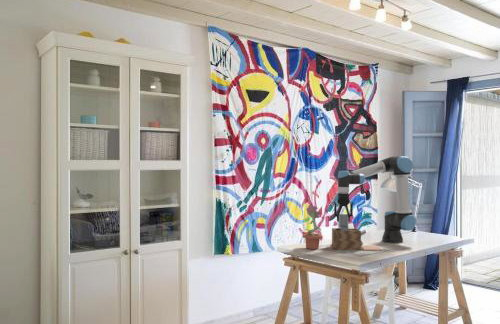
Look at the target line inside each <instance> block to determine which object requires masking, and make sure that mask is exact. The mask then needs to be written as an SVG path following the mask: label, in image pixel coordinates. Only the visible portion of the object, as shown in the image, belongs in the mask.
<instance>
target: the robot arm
mask: <svg viewBox="0 0 500 324" xmlns="http://www.w3.org/2000/svg"><path fill="white" fill-rule="evenodd" d="M413 169H414V164H413V161H412V160H411V158H410V157H408V156H403V155H400V156H398V155H397V156H390V157H387V158H384V159H381V160H379V161H377V162H376V163H373V164H370V165H367V166H364V167H361V168H358V169H355V170H351V171H349V170H339V171H338V174H337V186H338V187H337V192H338V193H337V201H333V209H334V210H333V211H334V212H333V213H334V214H333V215H334V216H335V217H336V222H337V224H338V226H339V227H340V217H339V214H341V210H342V207H344V208H345V210H346V214H347V215H348V223H349V222H351V217H353V208H354V207H353V205H354V202H353V201H350V185H363V184H364V183H365V181H366V178H368V177H370V176H375V175H377V174H380V173H381V174H385V173H392V174H393V176H394V177H395V185H396V186H395V187H396V201H397V202H396V203H397V205H396V206H397V210H393V211H391V210H390V211H385V212H384V217H383V218H384V231H383V235H382V238H381V241H382V242H384V243H390V244H392V243H393V244H394V243H395V244H400V243H404V238H403V236H402V232H401V231H408V232H409V231H412V230H413V229H415V228H416V225H417V218H416V217H415V215H413V211H412V210H411V203H410V202H411V201H410V189H409V188H410V187H409V176H410V175H411V171H412V170H413ZM338 204H339V205H338ZM348 205H349V207H350V209H349V207H348ZM337 207H338V210H337ZM349 210H350V211H349Z"/></svg>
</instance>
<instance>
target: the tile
mask: <svg viewBox="0 0 500 324" xmlns="http://www.w3.org/2000/svg"><path fill="white" fill-rule="evenodd" d="M361 248H362V251H367V252H369V251H370V252H382V251H383V249H382V248H381V247H380V246H378V245H361Z"/></svg>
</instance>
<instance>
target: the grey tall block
mask: <svg viewBox="0 0 500 324" xmlns="http://www.w3.org/2000/svg"><path fill="white" fill-rule="evenodd" d="M339 217H340V227H339V226H338V227H337V228H339V230H341V231H348V228H349V222H348V215H347V213H340V214H339Z"/></svg>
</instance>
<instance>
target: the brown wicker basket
mask: <svg viewBox="0 0 500 324" xmlns="http://www.w3.org/2000/svg"><path fill="white" fill-rule="evenodd" d="M361 231H362V230H359V228H349V227H348V231H341V230H339V228H338V227H333V228H332V227H331V244H330V248H331V250H332V251H363V249H362V248H361V246H362V245H361V241H362V235H361Z"/></svg>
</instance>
